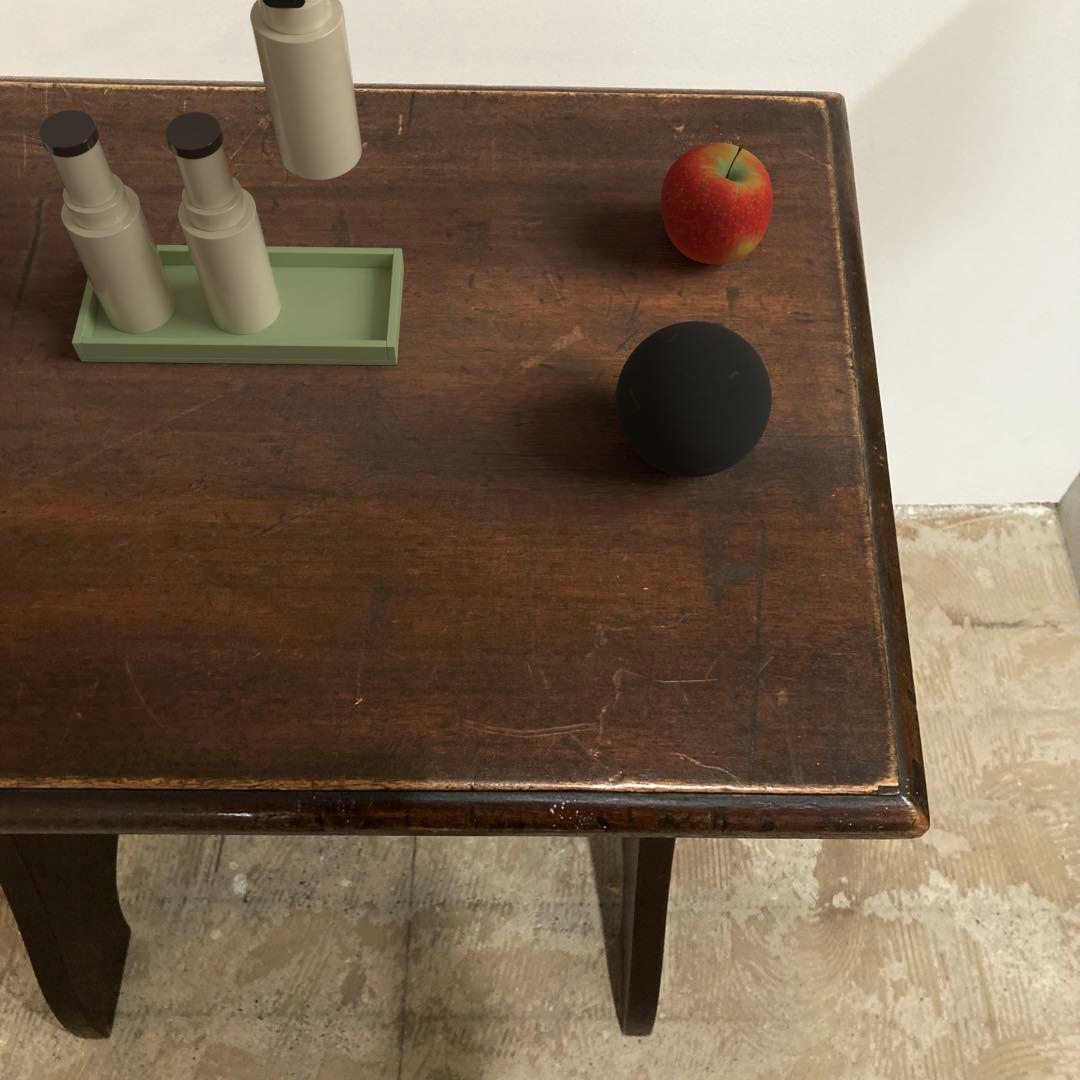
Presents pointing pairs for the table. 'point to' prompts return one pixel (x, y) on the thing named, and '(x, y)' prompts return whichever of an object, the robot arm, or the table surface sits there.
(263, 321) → the bottle
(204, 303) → the tray
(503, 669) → the table surface
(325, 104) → the bottle
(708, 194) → the apple
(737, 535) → the table surface
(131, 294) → the bottle
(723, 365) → the black ball
